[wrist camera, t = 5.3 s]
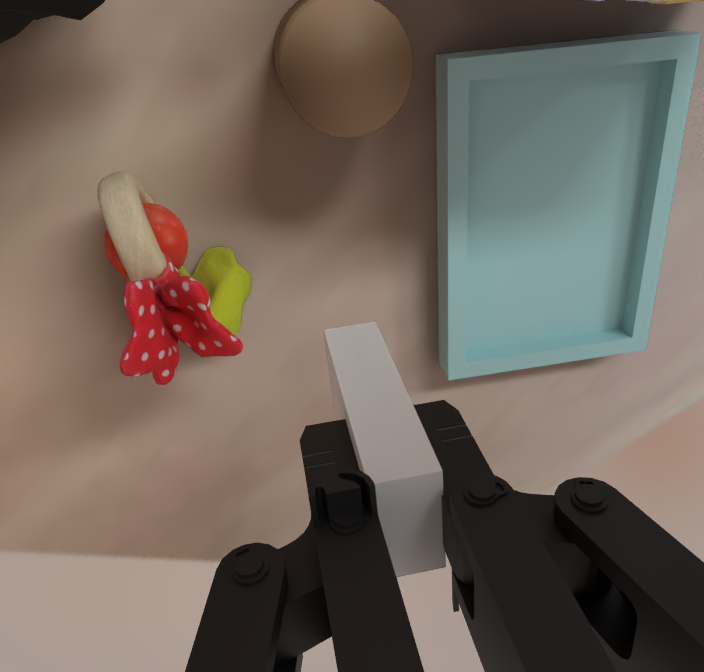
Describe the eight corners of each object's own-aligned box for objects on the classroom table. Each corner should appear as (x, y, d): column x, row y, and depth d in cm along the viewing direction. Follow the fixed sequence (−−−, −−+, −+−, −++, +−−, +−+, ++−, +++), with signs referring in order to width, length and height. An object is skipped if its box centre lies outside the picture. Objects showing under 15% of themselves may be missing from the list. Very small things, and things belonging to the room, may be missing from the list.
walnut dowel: (265, -4, 28) (272, 1, 23) (379, -14, 28) (411, -12, 23) (281, 116, 30) (290, 144, 25) (384, 104, 31) (414, 130, 26)
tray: (435, 54, 30) (447, 59, 28) (675, 30, 31) (701, 32, 30) (438, 362, 38) (448, 380, 37) (628, 333, 40) (645, 350, 38)
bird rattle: (91, 218, 33) (171, 374, 34) (-40, 201, 22) (84, 431, 23) (199, 165, 33) (277, 324, 34) (119, 120, 22) (238, 358, 23)
